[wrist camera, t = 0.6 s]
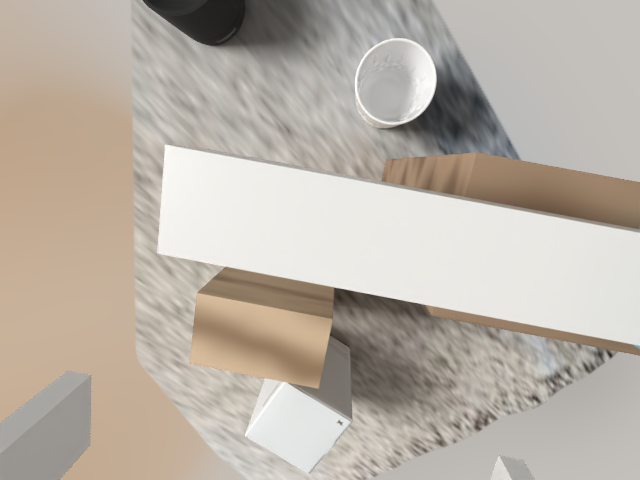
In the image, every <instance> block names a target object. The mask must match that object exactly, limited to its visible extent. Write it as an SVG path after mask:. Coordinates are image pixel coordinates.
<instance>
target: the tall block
mask: <svg viewBox="0 0 640 480" xmlns="http://www.w3.org/2000/svg"><path fill="white" fill-rule="evenodd" d="M382 182H387V183H393V184H398V185H403V186H409V187H414V188H419V189H425V190H430V191H436V192H441V193H446V194H452V195H457V196H463V197H468V198H473V199H479V200H484V201H489V202H495V203H500V204H506V205H511V206H516V207H522V208H527V209H533V210H538V211H543V212H549V213H554V214H559V215H565V216H570V217H576V218H581V219H586V220H592V221H597V222H603V223H608V224H613V225H619V226H624V227H629V228H635V229H639V227H640V182H635V181H629V180H624V179H618V178H613V177H607V176H602V175H597V174H591V173H585V172H580V171H575V170H569V169H564V168H558V167H553V166H547V165H542V164H537V163H531V162H526V161H520V160H515V159H510V158H504V157H499V156H493V155H488V154H482V153H465V154H452V155H440V156H428V157H415V158H403V159H391V160H386V164H385V168H384V173H383V177H382ZM425 306H426V307H427V309H428V311H429V312H430V314H431V316H436V317H442V318H447V319H452V320H457V321H463V322H468V323H473V324H478V325H483V326H489V327H494V328H499V329H504V330H510V331H515V332H520V333H525V334H530V335H536V336H541V337H546V338H551V339H556V340H562V341H567V342H572V343H577V344H583V345H588V346H593V347H598V348H603V349H609V350H614V351H619V352H624V353H630V354H635V355H640V349H639V348H638V347H636V346H634V345H633V344H628V343H623V342H618V341H612V340H607V339H602V338H597V337H592V336H586V335H581V334H576V333H571V332H565V331H560V330H555V329H550V328H544V327H539V326H534V325H529V324H524V323H518V322H513V321H508V320H503V319H497V318H492V317H487V316H482V315H476V314H471V313H466V312H461V311H456V310H450V309H445V308H440V307H435V306H429V305H425Z"/></svg>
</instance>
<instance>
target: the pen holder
mask: <svg viewBox="0 0 640 480" xmlns="http://www.w3.org/2000/svg"><path fill="white" fill-rule="evenodd" d="M143 1H144V3H145V4H146V5H147V6H148V7H149V8H151V9H152V10H153V11H155V12H156V13H157V14H159V15H160V16H161V17H163V18H164V19H165V20H167V21H168V22H170V23H171V24H172V25H174V26H175V27H176V28H178V29H179V30H181V31H182V32H183V33H185V34H186V35H188V36H189V37H191V38H192V39H194V40H196V41H197V42H200V43H202V44H206V45H217V44H221V43H224V42H226V41H228V40H229V39H230V38H232V37H233V36H234V35H235V34H236V32H237V31H238V29H239V28H240V26H241V24H242V21H243V18H244V11H245V3H244V0H143Z"/></svg>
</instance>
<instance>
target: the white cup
mask: <svg viewBox="0 0 640 480" xmlns="http://www.w3.org/2000/svg"><path fill="white" fill-rule="evenodd" d="M436 83H437V75H436V69H435V65H434V62H433V60H432V58H431V56H430V55H429V53H428V52H427V51H426V50H425V49H424V48H423V47H422V46H421V45H419V44H418V43H416V42H414V41H412V40H409V39H404V38H393V39H388V40H385V41H383V42H380V43H379V44H377V45H375V46H374V47H373V48H371V49H370V50H369V51H368V52H367V54H366V55H365V56H364V57H363V59H362V61H361V63H360V65H359V67H358V70H357V73H356V79H355V99H356V105H357V109H358V111H359V115H360V116H361V118H362V119H363V120H364V121H365V122H366V123H367V124H368V125H370V126H373V127H376V128H378V129H381V128H392V127H396V126H399V125H402V124H404V123H407V122H410V121H412V120H413V119H415V118H417V117H418V116H419V115H420V114H422V113H423V112H424V111H425V109H426V108H427V107H428V105H429V104H430V102H431V100H432V98H433V96H434V93H435V89H436Z"/></svg>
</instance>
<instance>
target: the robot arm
mask: <svg viewBox="0 0 640 480" xmlns="http://www.w3.org/2000/svg"><path fill="white" fill-rule="evenodd" d="M90 418H91V375H88V374H83V373H78V372H73V371H67V372H65V373H64V374H63V375H62V376H60V377H59V378H58V379H56V380H55V381H54V382H53V383H51V384H50V385H49V386H47V387H46V388H45V389H43V390H42V391H41V392H40V393H39V394H37V395H36V396H34V397H33V398H32V399H31V400H29V401H28V402H27V403H25V404H24V405H23V406H22V407H20V408H19V409H18V410H16V411H15V412H14V413H12V414H11V415H10V416H9V417H7V418H6V419H5V420H3V421H2V422H1V423H0V480H60V479H61V478H62V477H63V475H64V474H65V473H66V472H67V471H68V470H69V468H71V466H72V465H73V464H74V463H75V462H76V461H77V460H78V458H79V457H80V456H81V455H82V454H83V453H84V451H85V450H86V449H87V448H88V447H89V446H90V424H91V422H90V421H91V419H90ZM490 480H535V479H534V477H533V476H532V474H531V472H530V470H529V469H528V467H527V465H526V464H525V462H524V461H523V460H520V459H515V458H510V457H505V456H500V455H499V457H498V459H497V462H496V465H495V467H494V470H493V473H492V475H491V478H490Z"/></svg>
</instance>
